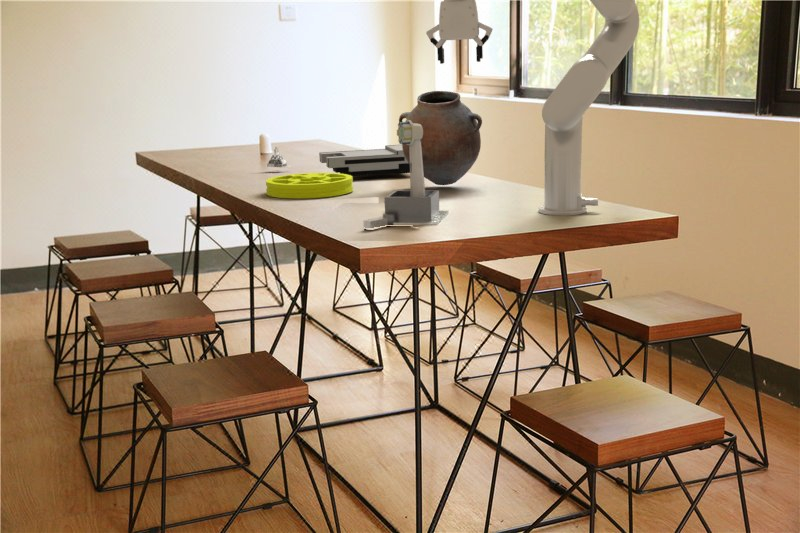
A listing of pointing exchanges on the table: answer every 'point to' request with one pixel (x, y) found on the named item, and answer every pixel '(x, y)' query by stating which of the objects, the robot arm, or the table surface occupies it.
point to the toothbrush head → (413, 155)
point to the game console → (367, 161)
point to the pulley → (309, 185)
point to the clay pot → (445, 136)
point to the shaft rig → (409, 210)
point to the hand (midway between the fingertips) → (460, 62)
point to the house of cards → (277, 160)
